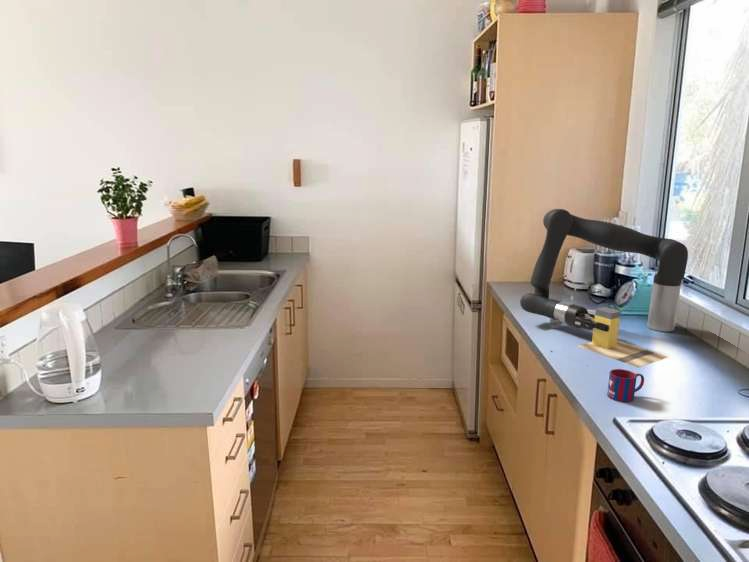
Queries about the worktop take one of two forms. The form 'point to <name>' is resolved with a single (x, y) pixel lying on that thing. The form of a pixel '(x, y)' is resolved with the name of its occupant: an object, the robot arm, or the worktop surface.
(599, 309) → the yellow spice tin
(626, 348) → the plywood panel
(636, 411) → the worktop surface
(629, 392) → the mug
